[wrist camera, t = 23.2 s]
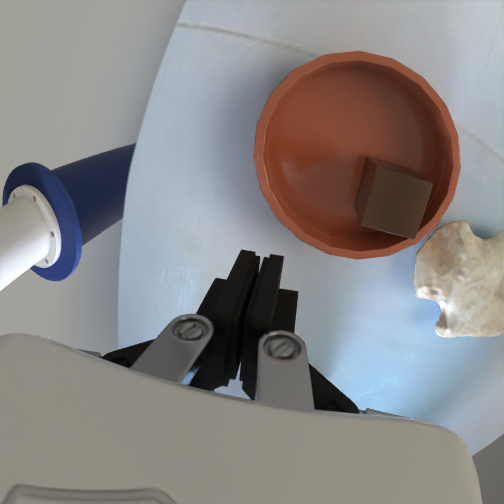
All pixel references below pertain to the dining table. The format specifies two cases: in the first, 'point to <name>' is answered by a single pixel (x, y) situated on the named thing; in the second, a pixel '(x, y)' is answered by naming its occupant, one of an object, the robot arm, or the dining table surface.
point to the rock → (463, 280)
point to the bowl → (351, 148)
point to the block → (391, 198)
